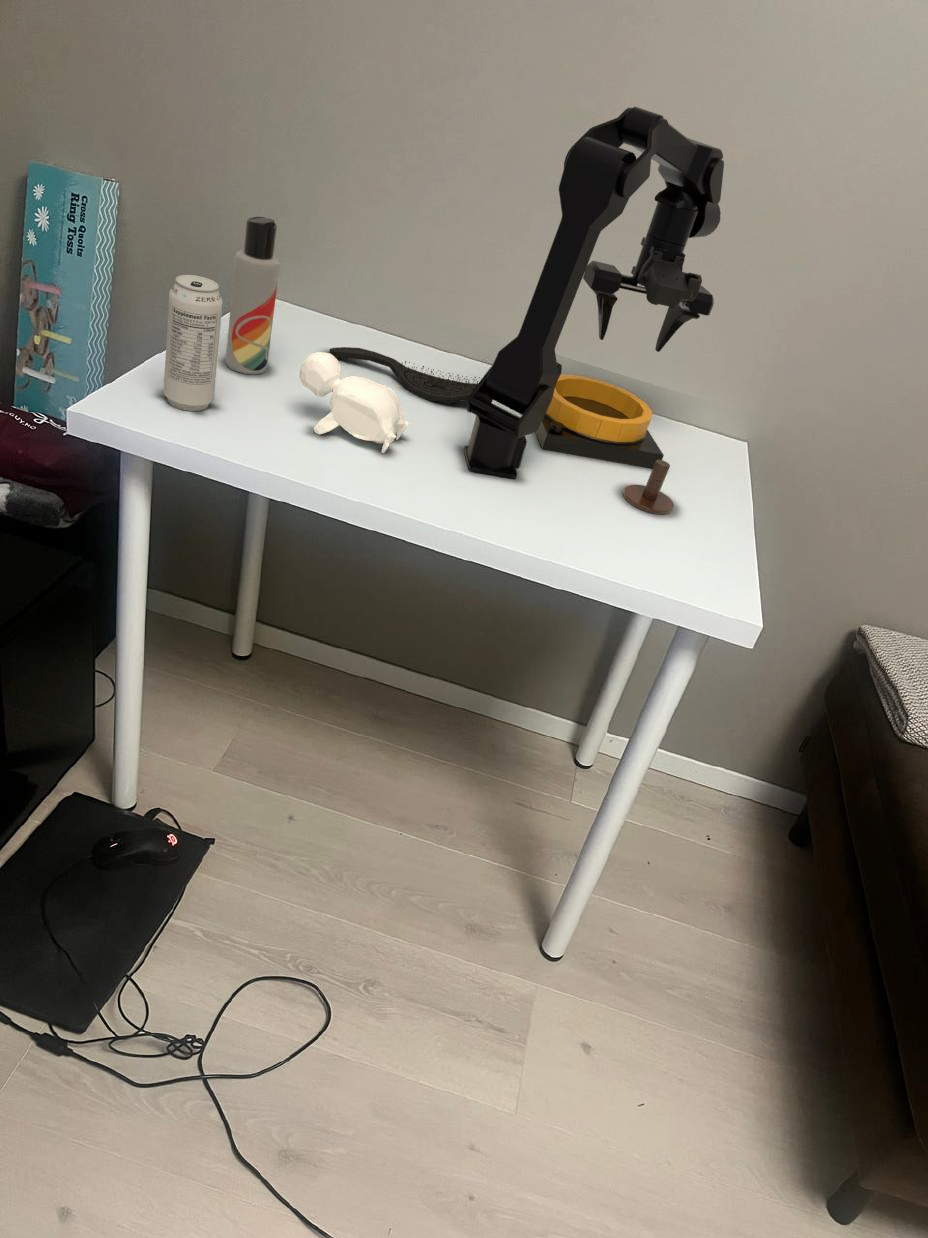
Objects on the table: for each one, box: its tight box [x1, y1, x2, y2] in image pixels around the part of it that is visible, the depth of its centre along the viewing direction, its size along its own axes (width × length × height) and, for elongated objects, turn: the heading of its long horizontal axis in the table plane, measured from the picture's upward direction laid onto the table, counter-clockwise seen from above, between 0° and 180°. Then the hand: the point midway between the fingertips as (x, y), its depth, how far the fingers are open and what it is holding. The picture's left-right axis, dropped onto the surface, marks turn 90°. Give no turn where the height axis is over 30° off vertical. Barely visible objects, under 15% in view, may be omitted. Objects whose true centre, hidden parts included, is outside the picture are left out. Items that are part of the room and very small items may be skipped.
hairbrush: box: [328, 346, 483, 404], centre depth 137 cm, size 8×4×25 cm
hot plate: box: [535, 397, 665, 469], centre depth 138 cm, size 18×18×3 cm
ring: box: [546, 374, 653, 442], centre depth 136 cm, size 16×16×3 cm
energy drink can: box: [163, 274, 224, 412], centre depth 110 cm, size 6×6×15 cm
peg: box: [622, 459, 675, 516], centre depth 122 cm, size 7×7×6 cm
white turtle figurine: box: [299, 351, 410, 454], centre depth 117 cm, size 9×8×15 cm
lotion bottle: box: [225, 216, 281, 375], centre depth 122 cm, size 6×6×20 cm
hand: (629, 344), depth 137 cm, fingers open, 9 cm apart
